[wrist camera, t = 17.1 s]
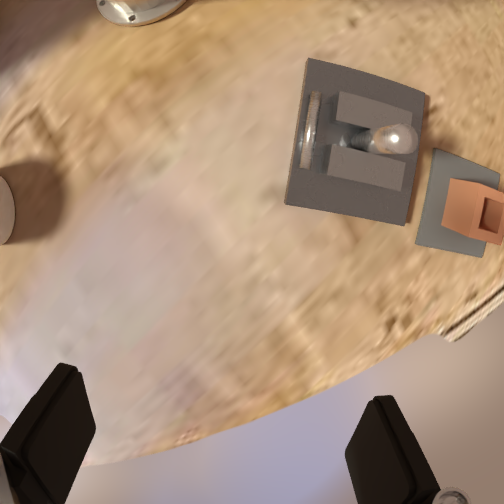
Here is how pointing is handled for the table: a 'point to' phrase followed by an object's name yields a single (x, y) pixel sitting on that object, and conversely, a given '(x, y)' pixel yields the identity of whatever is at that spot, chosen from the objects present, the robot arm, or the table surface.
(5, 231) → the mug
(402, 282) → the table surface
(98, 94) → the table surface
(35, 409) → the robot arm
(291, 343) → the table surface
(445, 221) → the collar
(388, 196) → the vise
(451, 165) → the mat
